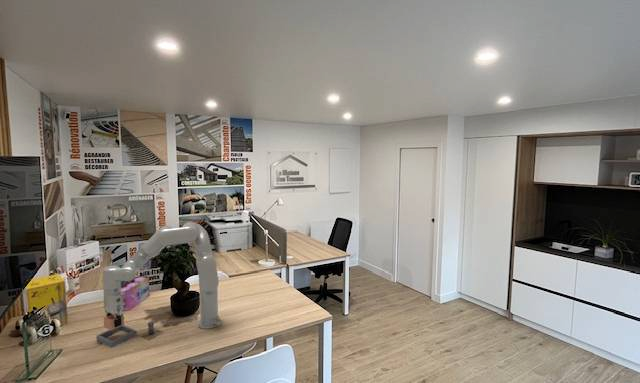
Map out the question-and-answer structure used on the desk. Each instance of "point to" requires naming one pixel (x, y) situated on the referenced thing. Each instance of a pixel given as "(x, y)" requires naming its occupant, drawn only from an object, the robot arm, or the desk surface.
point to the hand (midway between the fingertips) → (114, 324)
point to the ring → (112, 322)
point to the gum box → (135, 292)
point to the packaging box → (47, 297)
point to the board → (151, 332)
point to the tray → (105, 335)
